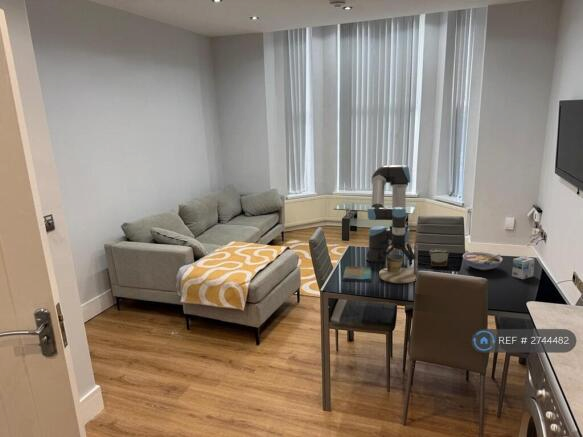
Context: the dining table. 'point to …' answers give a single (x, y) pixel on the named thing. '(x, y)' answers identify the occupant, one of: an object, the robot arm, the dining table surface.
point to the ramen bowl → (482, 260)
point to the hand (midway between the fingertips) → (398, 268)
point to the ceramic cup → (394, 263)
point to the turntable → (401, 272)
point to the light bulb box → (523, 267)
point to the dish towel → (357, 274)
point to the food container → (439, 257)
